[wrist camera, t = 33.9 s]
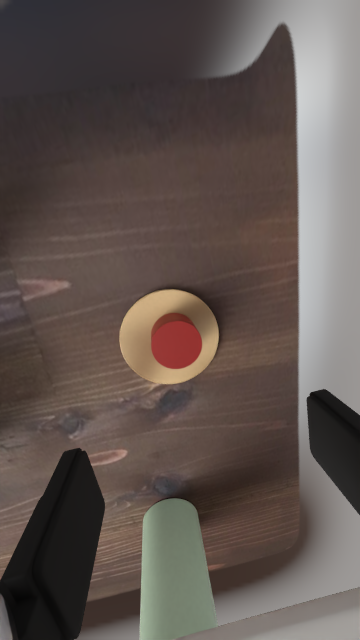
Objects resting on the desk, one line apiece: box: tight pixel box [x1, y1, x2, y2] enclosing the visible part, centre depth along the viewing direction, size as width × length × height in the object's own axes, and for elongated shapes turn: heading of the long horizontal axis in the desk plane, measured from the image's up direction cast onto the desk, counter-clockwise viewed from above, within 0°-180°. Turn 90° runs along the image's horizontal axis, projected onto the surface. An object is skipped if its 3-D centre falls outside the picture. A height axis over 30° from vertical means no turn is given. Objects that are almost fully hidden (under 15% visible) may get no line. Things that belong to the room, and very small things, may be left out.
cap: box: [151, 313, 202, 369], centre depth 20 cm, size 4×4×3 cm
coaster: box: [119, 289, 219, 384], centre depth 22 cm, size 9×9×1 cm
